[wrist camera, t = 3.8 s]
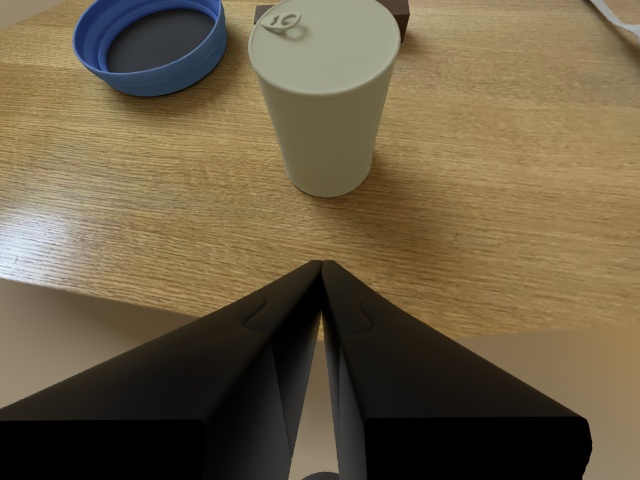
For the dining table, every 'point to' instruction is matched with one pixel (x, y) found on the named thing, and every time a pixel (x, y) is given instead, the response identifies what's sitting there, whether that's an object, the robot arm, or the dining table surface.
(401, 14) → the rail
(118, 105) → the dining table surface
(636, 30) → the fork
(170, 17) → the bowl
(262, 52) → the can
